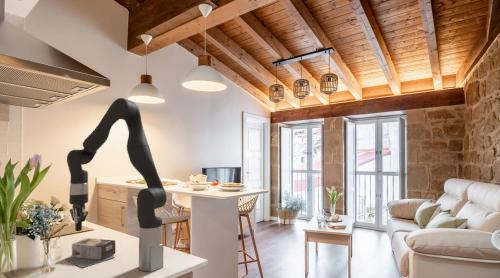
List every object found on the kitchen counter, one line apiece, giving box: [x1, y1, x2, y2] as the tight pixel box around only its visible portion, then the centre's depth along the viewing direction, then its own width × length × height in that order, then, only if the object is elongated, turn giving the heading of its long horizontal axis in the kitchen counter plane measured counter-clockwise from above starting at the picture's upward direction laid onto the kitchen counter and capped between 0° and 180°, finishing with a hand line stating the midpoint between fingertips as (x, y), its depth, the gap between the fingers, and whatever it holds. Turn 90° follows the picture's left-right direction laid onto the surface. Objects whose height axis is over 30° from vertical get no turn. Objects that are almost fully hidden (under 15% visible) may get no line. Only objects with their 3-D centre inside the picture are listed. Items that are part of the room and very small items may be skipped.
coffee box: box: [71, 237, 116, 260], centre depth 136 cm, size 9×6×16 cm
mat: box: [64, 255, 115, 269], centre depth 133 cm, size 16×14×1 cm
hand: (78, 230), depth 135 cm, fingers closed
